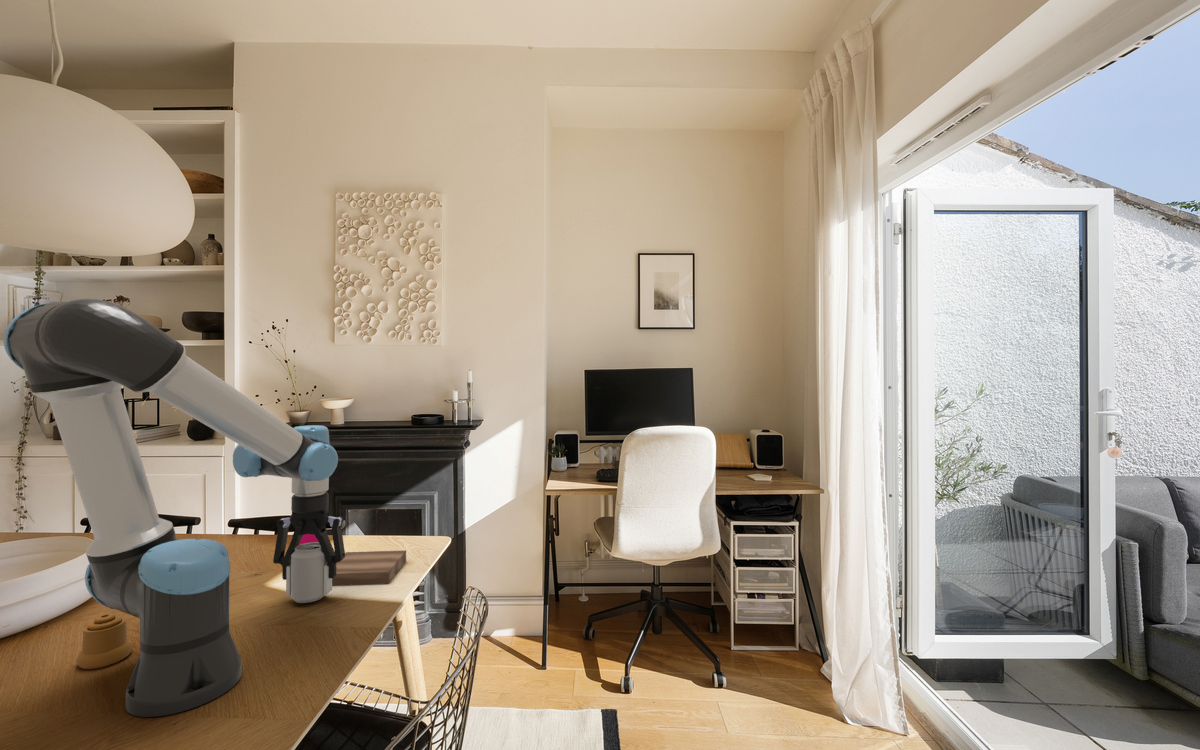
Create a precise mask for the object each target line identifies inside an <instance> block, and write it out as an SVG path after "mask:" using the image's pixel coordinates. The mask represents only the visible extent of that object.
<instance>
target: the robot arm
mask: <svg viewBox="0 0 1200 750" xmlns="http://www.w3.org/2000/svg"><path fill="white" fill-rule="evenodd" d="M3 347H4V350H5V353H6V355H7V356H8V357H9V359H10V360H11V361H12V362H13V363H14V364H15V365H16V366H17V367H19V368H20V369H21V370H22V371H24V374H25V377H26V379H27V383H28V386H29V389H30V391H31V394H32V395H33V396H36V397H38V398H40V399H43V400H45V401H47V402H49V404H50V408H51V411H52V414H53V417H54V421H55V423H56V427H57V429H58V433H59V435H60V439H61V441H62V444H63V447H64V451H65V454H66V456H67V459H68V462H69V465H70V468H71V471H72V474H73V478H74V480H75V481H74V482H75V483H76V486H77V489H78V493H79V495H80V500H82V505H83V507H84V511H85V513H86V517H87V519H88V523H89V526H90V528H91V532H92V535H93V540H92V541H91V542H90V543H89V544H88V546H87V547H86V549H85V554H86V557H87V560H88V565H87V567H86V570H85V575H84V582H85V586H86V589H87V591H88V593H89V594H90V596H91V597H93V599H94V600H95V602H97V603H99V604H101V606H102V605H103V606H104V607H106V608H108V609H111V610H116V611H119V612H121V613H125V614H127V615H130V616H133V617H135V618H138V619H139V641H140V642H139V643H140V645H139V646H140V647H139V648H140V649H139V651H140V652H139V656H138V659H137V661H136V664H135V666H134V668H133V671H132V674H131V676H130V679H129V683H128V685H127V688H126V690H125V710H126V712H127V713H129V714H130V715H131V716H132V715H133V716H135V717H140V718H141V717H142V718H151V717H152V718H153V717H162V716H163V717H164V716H169V715H174V714H177V713H182V712H185V711H189V710H191V709H195V708H197V707H198V708H199V706H203V705H205V704H207V703H209V702H211V701H214V700H215V699H218V698H219V697H221V696H222V695H224V694H225V693H227V692H228V691H230V690H231V689H232V688H233V687H234V686H236V685H237V684H238V682H239V680H240V679H241V678H242V674H243V673H242V671H243V670H242V668H243V665H242V658H241V656H240V654H239V652H238V651H239V650H238V648H237V646H236V644H235V642H234V639H233V637H232V635H231V631H230V573H231V562H230V556H229V551H228V549H227V547H226V546H225V545H224V543H221V542H219V541H217V540H214V539H208V538H201V539H196V538H185V539H184V538H183V539H178V536H177V534H176V531H175V528H174V525H173V522H172V521H170V520H167V519H164V518H161V517H159V513H158V509H157V507H156V503H155V501H154V496H153V493H152V490H151V487H150V484H149V480H148V476H147V473H146V469H145V467H144V464H143V460H142V456H141V453H140V450H139V447H138V444H137V440H136V437H135V434H134V431H133V430H134V429H133V427H132V424H131V420H130V416H129V413H128V410H127V406H126V404H125V401H124V397H123V393H122V391H121V390H122V387H123V386H124V387H126V388H128V389H129V390H131V391H133V392H134V393H138V394H140V393H146V392H148V393H150V394H152V395H154V396H155V397H157V398H159V399H160V400H162V401H164V402H165V403H167V404H169V405H170V406H172V407H174V408H176V409H177V410H179V411H181V412H182V413H184V414H186V415H188V416H190V417H191V418H193V419H195V420H196V421H198V422H200V423H201V424H203V425H205V426H206V427H208V428H210V429H212V430H214V431H216V432H217V433H219V434H221V435H222V436H224V437H225V438H226V439H227V438H228V439H229V440H230V441H232V442H234V443H236V444H237V445H236V447H235V448H234V450H233V454H232V465H233V468H234V471H235V472H236V474H237V475H239V477H242V478H250V477H251V478H252V477H254V478H257V477H259V476H271V477H272V476H274V477H281V478H290V479H291V493H292V494H293V495H292V496H291V515H290V517H283V518H281V519H278V520H276V527H277V536H276V542H275V548H274V552H273V553H274V554H273V559H272V562H273V564H276V565H277V564H278V565H281V568H282V571H281V572H282V575H281V576H282V580H284V581H285V583H286V584H285V586H286V587H285V588H286V589H285V592H286V593H285V595H286V596H290V597H291V555H292V553H293V552H294V551H295V550H294V548H295V547H296V546H298V545H299V543H300V541H301V539H302V536H303V535H305V534H311V535H315V537H316V538H317V539H318V541H319V544H320V546H321V548H322V551H323V553H324V556H325V558H326V560H327V564H326V565H325V566H324V594H325V595H328V594H329V593H330V592H331V591H333V586H332V578H334V577H335V576H336V563H337V562H340V561H341V560H342V559H344V558H345V553H346V551H345V545H344V543H345V542H344V537H343V530H342V524H343V519H344V518H343V517H342V516H338V517H335V516H331V514H330V512H329V505H330V504H329V503H330V500H329V497H330V496H329V495H330V493H328V491H329V489H330V488H329V484H330V483H329V482H330V477H331V476H332V475H333V473H334V472H335V471H336V468H337V467H338V462H339V456H338V453H337V451H336V449H335V448H334V446H332V445H331V444H330V443H331V442H330V432H329V428H328V427H326V426H325V425H318V424H317V425H314V424H313V425H299V426H295V427H292V426H291V425H289V424H288V423H286V422H285V421H283V420H282V419H280V418H279V417H278V416H276V415H274V414H273V413H272V412H270V411H268V410H267V409H265V408H264V407H263V406H261V405H260V404H258V403H257V402H255V401H254V400H252V399H251V398H249V397H248V396H246V395H245V394H243V393H242V392H241V391H239V390H238V389H236V388H234V387H233V386H232V385H230V384H229V383H228V382H226V381H224V380H223V379H221V378H220V377H219V376H217V375H215V373H213V372H211V371H210V370H208V369H207V368H205V367H204V366H202V365H201V364H199V363H198V362H197V361H195V360H193V359H191V358H190V357H189V356H188V355H186V354H187V352H186V347H185V346H184V345H183V344H182V343H180V342H179V341H178V340H176V339H175V338H173V337H172V336H170V335H169V334H167V333H166V332H165V331H163V330H162V329H160V328H158V327H157V326H155V325H154V324H153V323H151V322H149V321H148V320H147V319H145V318H143V317H142V316H140V315H139V314H137V313H135V312H133V311H132V310H129V309H128V308H126V307H124V306H122V305H119V304H117V303H114V302H112V301H108V300H102V299H96V298H79V299H73V300H68V301H67V300H66V301H59V302H58V301H57V302H56V301H55V302H54V301H52V302H46V303H40V304H38V305H35V306H32V307H30V308H28V309H25V310H23V311H22V312H20V313H18V314H17V315H16V316H14V318H13V319H12V320H11V321H10V322H9V323H8V325H7V326H6V329H5V330H4V334H3ZM328 523H329V526H330V527H331V536H332V542H331V540H330V537H329V535H328V530H327V526H326V525H327V524H328ZM291 525H292V526H293V527H294V530H293V531H294V532H293V534H292V538H291V541H290V542H289V544H288V547H287V540H288V535H289V527H290V526H291ZM332 543H333V545H332ZM286 547H287V549H286Z"/></svg>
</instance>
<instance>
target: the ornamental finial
mask: <svg viewBox="0 0 1200 750" xmlns="http://www.w3.org/2000/svg"><path fill="white" fill-rule="evenodd" d="M82 631H83V632H82V647H81V648H82V649H81V651H79V653H78V654H77V656H76V659H75V660H76V661H75V662H76V665H77V666H78V667H79V668H80V669H84V670H95V669H100V668H105V667H108V666H107V665H109V666H111V665H110V664H112V665H114V664H117V663H118V661H119V662H121V661H123V660H124V659H125V658H127V657H128V656H129V655H130V654H131V652H132V650H133V642H132V641H131V639H129V638H128V633H127V619H126V618H125V617H122V616H121V615H118V614H115V613H104V614H101V615H98V616H96V617H95V618H94V620H92V621H90V622H89V623H88V624H87V625H86V626H85V627H84V628H83V630H82ZM120 660H121V661H120ZM116 662H117V663H116ZM113 663H114V664H113Z"/></svg>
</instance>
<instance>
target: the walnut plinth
mask: <svg viewBox="0 0 1200 750" xmlns="http://www.w3.org/2000/svg"><path fill="white" fill-rule="evenodd" d="M405 561H406V562H407V550H406V549H405V550H376V551H371V550H370V551H347V552H346V551H345V558H344V559H342V560H341V561H340V562H337V563H336V576H335V577H334V578H332V587H336V586H340V587H341V586H366V585H367V586H368V585H371V586H373V585H389V584H390V583H391V581H393V579H394V578H395V576H396V575H397V574H398V572H399V571H400V570H401V569H402V567H403V566H404V565H405V563H406V562H405Z"/></svg>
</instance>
